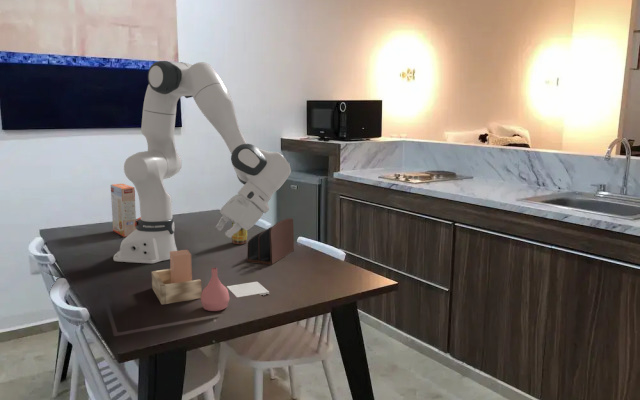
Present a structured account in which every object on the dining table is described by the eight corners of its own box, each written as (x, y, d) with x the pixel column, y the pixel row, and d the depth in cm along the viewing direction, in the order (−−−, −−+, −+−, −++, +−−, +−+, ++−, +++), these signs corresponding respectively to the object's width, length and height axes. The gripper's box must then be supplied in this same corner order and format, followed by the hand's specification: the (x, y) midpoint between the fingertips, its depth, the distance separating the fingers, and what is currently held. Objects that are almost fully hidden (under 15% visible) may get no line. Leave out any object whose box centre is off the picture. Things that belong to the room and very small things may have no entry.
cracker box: (137, 235, 216) (135, 187, 212) (123, 237, 212) (120, 188, 209) (126, 229, 227) (123, 182, 223) (112, 231, 223) (109, 184, 219)
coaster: (237, 299, 146) (237, 297, 146) (226, 288, 155) (226, 286, 155) (269, 294, 151) (269, 291, 151) (257, 283, 160) (257, 281, 160)
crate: (161, 307, 140) (160, 286, 139) (152, 290, 153) (151, 271, 152) (201, 300, 146) (201, 280, 145) (189, 284, 158) (188, 266, 157)
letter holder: (294, 251, 197) (294, 215, 195) (271, 265, 179) (271, 226, 176) (270, 248, 200) (270, 213, 198) (246, 262, 182) (246, 224, 180)
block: (175, 296, 147) (173, 256, 144) (171, 290, 151) (169, 251, 149) (192, 293, 149) (191, 253, 147) (188, 287, 153) (186, 249, 151)
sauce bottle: (228, 243, 205) (227, 195, 201) (236, 240, 211) (236, 193, 207) (242, 245, 203) (242, 196, 199) (250, 242, 208) (250, 194, 205)
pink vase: (204, 318, 134) (203, 274, 131) (198, 307, 140) (196, 266, 138) (233, 313, 137) (232, 270, 135) (225, 303, 144) (224, 262, 141)
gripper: (233, 186, 163) (205, 219, 160) (257, 196, 145) (225, 233, 142) (247, 199, 166) (219, 231, 163) (271, 210, 148) (240, 247, 145)
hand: (222, 232), depth 153 cm, fingers open, 8 cm apart
